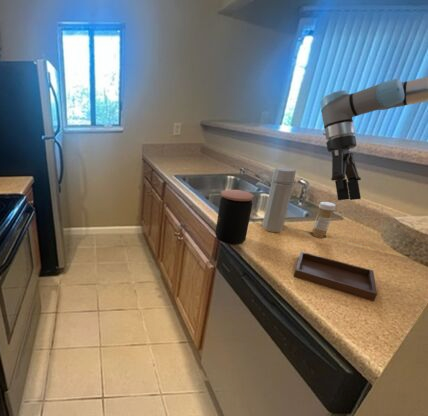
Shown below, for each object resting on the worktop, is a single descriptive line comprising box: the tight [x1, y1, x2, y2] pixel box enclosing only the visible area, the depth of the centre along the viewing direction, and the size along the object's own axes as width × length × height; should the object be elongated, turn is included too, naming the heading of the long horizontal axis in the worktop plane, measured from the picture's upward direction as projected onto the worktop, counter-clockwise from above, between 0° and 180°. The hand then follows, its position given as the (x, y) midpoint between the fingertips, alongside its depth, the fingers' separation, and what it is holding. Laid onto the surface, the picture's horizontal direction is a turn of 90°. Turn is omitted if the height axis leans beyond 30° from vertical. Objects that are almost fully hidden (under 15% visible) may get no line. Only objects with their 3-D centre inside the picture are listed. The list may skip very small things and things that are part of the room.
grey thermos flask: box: [262, 166, 297, 233], centre depth 107 cm, size 9×8×25 cm
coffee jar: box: [214, 189, 255, 245], centre depth 102 cm, size 11×11×18 cm
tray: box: [293, 251, 378, 302], centre depth 81 cm, size 18×14×2 cm
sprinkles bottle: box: [310, 201, 336, 239], centre depth 103 cm, size 5×5×14 cm
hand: (349, 199), depth 92 cm, fingers open, 13 cm apart
